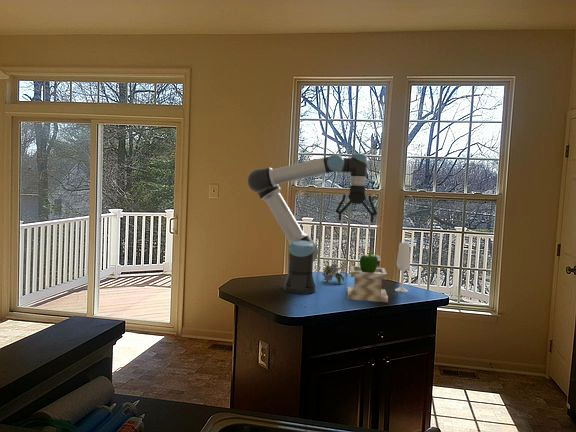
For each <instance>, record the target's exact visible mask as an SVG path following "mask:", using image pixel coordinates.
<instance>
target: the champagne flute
mask: <svg viewBox="0 0 576 432" xmlns="http://www.w3.org/2000/svg"><path fill="white" fill-rule="evenodd" d="M410 254H411V252H410V243H408V242H399V247H398V252H397V256H396V257H397V259H396V267H397V268H398V270H399V271H400V272H401V275H400V286H398V287H397V288H395V289H394V290H395V291H396V292H399V291H401V292H402V293H408V292H409V290H408V289H406V288H405V287H404V279H405V278H404V277H405V272H406V271H407V270H408V269H410V267H411V255H410ZM401 292H400V293H401Z"/></svg>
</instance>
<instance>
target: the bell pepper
mask: <svg viewBox="0 0 576 432" xmlns="http://www.w3.org/2000/svg"><path fill="white" fill-rule="evenodd" d="M365 255H366V254H364V255H361V256H360V258H359V267H361V271H362V272H370V273H374V272H375V270H376V267H377V262H378V260H377V257H376V256H371V255H375V252H374V251H370V252H369V253H368V254H367V255H368V256H365Z"/></svg>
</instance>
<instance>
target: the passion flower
mask: <svg viewBox="0 0 576 432" xmlns="http://www.w3.org/2000/svg"><path fill="white" fill-rule="evenodd" d="M340 270H341V267H338V263H335V264H332V265H327V266H325V267H324V269H323V272H322V273H321V275H322V276H323V277H324V281H325V283H328V282H331V281H332V279H333V277H334V278H336V280H337V283H338V284H339V285H341V282H342V283H344V282H345V278H344V276H343V275H344V274H345V277H348V273H347V272H343V273H339V271H340Z"/></svg>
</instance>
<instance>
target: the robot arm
mask: <svg viewBox="0 0 576 432" xmlns="http://www.w3.org/2000/svg"><path fill="white" fill-rule="evenodd" d="M367 162H368V157H367V155H366V154H365V153H360V152H359V153H356V152H355V153H352V154H351V155H350V157H345V156H344V157H343V156H342V155H340V154H331V155H329V156H326V157H321V158H317V159H312V160H308V161H304V162H303V161H302V162H299V163H293V164H289V165H285V166H281V167H277V168H272V167H265V168H258V169H254V170H252V171H251V172H250V173H249V175H248V176H247V186H248V187H249V189H250V190H252V191H253V192H255V193H256V194H257V195H258V197H259V198H260V200H261V201H264V202H266V205H267V206H268V208H269V209H270V211H271V213H272V215H273V216H274V218H275V220H276V221H277V224H278V225H279V227H280V228H281V230H282V231H283V234H284V236H286V239H287V241H288V271H287V272H288V274H287V276H286V279H285V282H284V285H283V291H285V292H287V293H291V294H298V295H300V294H301V295H309V294H313V293H315V292H316V284H315V280H314V276H313V272H314V271H313V269H314V262H315V261H316V260H317V257H318V255H319V250H318V246H317V244H315V242H314V241H312V239H311V237H310V236H309V234H308V233H304V231H303V229H302V228H301V226H300V224H299V222H298V221H297V219H296V217H295V216H294V215H293V213H292V210H291V208H289V206H288V204H287V203H286V201H285V199H284V197H283V196H282V194H281V189H282V188H281V186H280V184H284V183H288V182H289V183H290V182H293V181H297V180H303V179H307V178H312V177H315V176H320V175H326V174H330V173H349V174H350V178H349V179H350V180H349V181H350V182H349V184H350V185H349V193H348V194H346V193H345V194H342V199H341V201H340V202H339V204H338V206H337V207H336V209H335V213H336V214H338V221H340V228H343V222H344V221H343V220H344V214H343V213H344V211H345V210H347V208H349V206H350V205H351V204H352V205H355V204H356V205H361V204H362V205H363V207H364V208H365V210H367V212H368V213H369V215H368V230H371V223H373V221H374V216H376V215H377V214H378V212H377V209H376V207H375V205H374V203H373V200H372V195H366V186H365V185H366V180H367V168H368V167H367V165H368V164H367ZM347 199H349V201H348V202H347V203H346V204H345V206H344V207H342V206H343V203H344V202H345V200H347ZM365 200H367V201H368V202H369V205H370V206H371V209H372V210H371V209H370V208H369V206H368V205H367V203H366V202H364V201H365ZM341 207H342V208H341Z"/></svg>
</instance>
